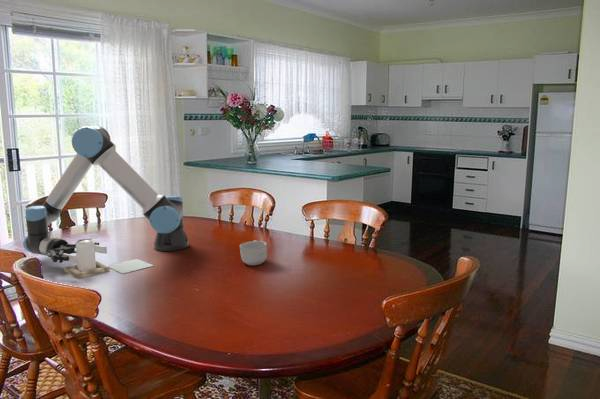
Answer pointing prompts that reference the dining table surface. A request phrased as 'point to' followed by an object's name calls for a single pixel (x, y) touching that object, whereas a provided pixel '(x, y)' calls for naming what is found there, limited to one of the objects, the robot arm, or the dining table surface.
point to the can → (85, 255)
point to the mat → (130, 266)
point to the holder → (74, 271)
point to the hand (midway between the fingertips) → (91, 254)
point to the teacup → (253, 252)
